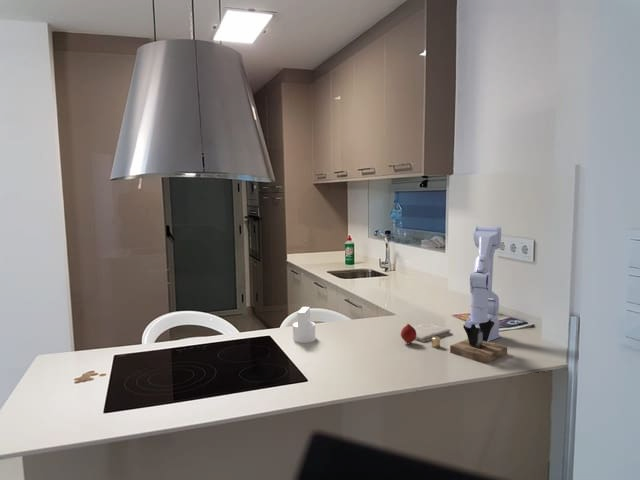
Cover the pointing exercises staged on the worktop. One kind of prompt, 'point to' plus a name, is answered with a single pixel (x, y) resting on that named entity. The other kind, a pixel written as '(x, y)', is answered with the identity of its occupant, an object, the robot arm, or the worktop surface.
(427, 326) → the washcloth
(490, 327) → the robot arm
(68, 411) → the worktop surface
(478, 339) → the long steel pin
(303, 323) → the base with upright slab
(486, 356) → the walnut hole plate
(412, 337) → the onion
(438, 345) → the short brass pin
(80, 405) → the worktop surface
